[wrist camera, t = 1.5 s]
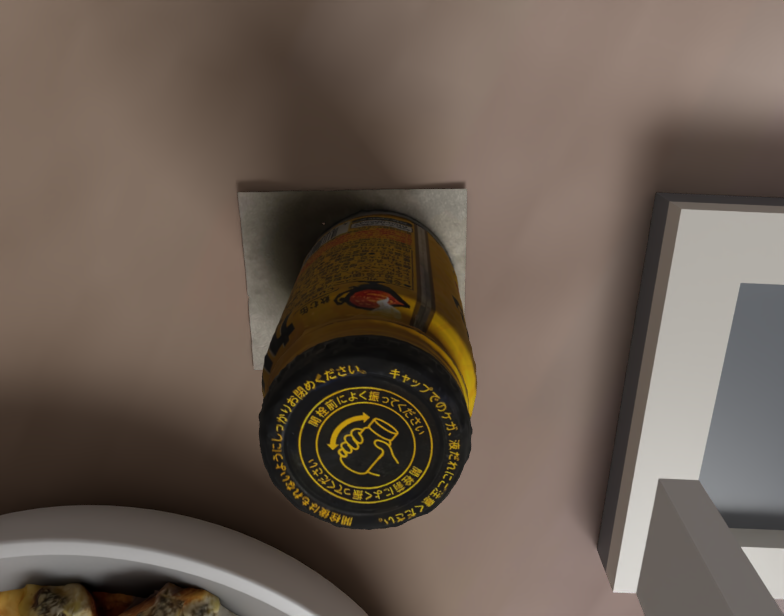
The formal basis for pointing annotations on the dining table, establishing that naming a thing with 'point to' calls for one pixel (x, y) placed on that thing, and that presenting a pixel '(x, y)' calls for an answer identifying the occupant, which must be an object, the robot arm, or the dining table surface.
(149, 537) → the bowl
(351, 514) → the condiment
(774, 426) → the pocket plate
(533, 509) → the dining table surface
